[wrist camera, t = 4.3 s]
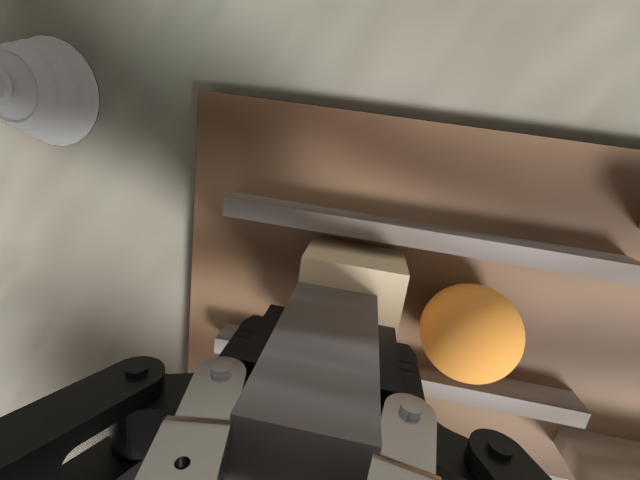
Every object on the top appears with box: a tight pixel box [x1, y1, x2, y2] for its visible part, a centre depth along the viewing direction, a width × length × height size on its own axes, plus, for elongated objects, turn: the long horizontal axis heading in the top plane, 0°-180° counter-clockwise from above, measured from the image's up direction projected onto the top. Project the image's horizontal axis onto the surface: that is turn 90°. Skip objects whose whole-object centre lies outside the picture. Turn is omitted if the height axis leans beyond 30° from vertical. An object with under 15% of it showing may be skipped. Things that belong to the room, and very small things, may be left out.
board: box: [188, 90, 640, 480], centre depth 16 cm, size 16×28×4 cm, turn 82°
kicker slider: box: [228, 236, 410, 480], centre depth 12 cm, size 5×4×10 cm
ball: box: [419, 283, 526, 385], centre depth 15 cm, size 4×4×4 cm
